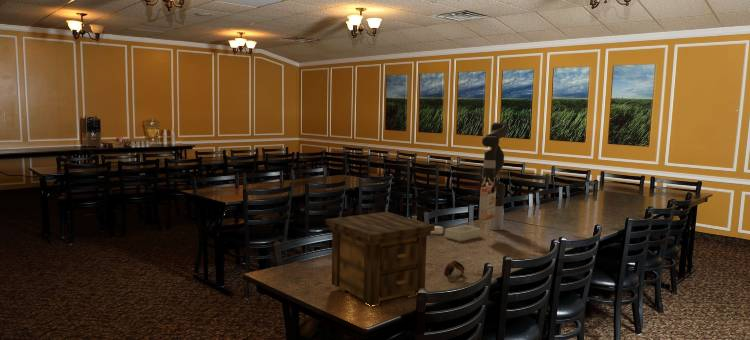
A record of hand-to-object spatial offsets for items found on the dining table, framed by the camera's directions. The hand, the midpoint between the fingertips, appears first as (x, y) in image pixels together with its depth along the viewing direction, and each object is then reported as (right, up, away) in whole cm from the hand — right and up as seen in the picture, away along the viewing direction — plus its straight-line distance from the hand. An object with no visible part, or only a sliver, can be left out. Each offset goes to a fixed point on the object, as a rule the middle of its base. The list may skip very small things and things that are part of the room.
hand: (488, 192), depth 340 cm
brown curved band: (-34, -39, -74) cm, 90 cm away
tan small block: (-31, -29, +17) cm, 46 cm away
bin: (-15, -30, +6) cm, 34 cm away
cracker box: (0, -17, +2) cm, 17 cm away
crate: (-72, -42, -101) cm, 131 cm away
